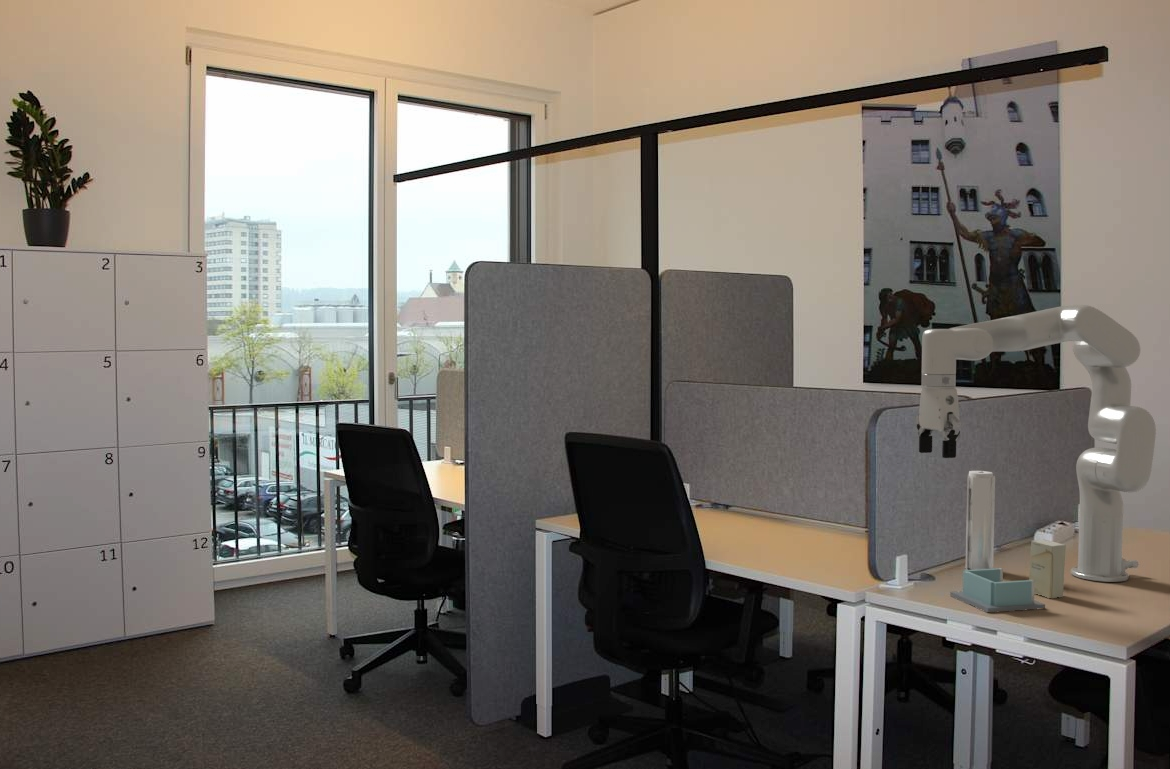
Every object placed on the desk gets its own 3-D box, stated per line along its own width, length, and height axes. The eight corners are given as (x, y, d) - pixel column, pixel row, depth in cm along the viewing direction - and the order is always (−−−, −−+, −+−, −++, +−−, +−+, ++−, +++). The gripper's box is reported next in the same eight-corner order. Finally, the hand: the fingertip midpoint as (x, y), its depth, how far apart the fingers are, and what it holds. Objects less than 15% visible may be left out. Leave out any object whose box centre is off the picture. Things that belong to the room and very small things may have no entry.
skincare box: (1028, 592, 230) (1029, 540, 229) (1042, 590, 232) (1043, 538, 231) (1050, 599, 224) (1052, 545, 224) (1065, 597, 226) (1066, 544, 225)
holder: (1004, 592, 230) (1005, 566, 230) (1045, 608, 217) (1045, 581, 216) (950, 595, 227) (950, 569, 227) (987, 612, 214) (988, 585, 213)
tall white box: (995, 574, 247) (997, 473, 246) (967, 572, 249) (969, 473, 247) (990, 567, 254) (992, 470, 252) (963, 566, 255) (965, 469, 254)
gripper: (975, 383, 225) (973, 459, 226) (932, 380, 242) (930, 450, 243) (945, 384, 223) (943, 460, 224) (904, 380, 240) (902, 451, 241)
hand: (937, 455), depth 233 cm, fingers open, 9 cm apart
